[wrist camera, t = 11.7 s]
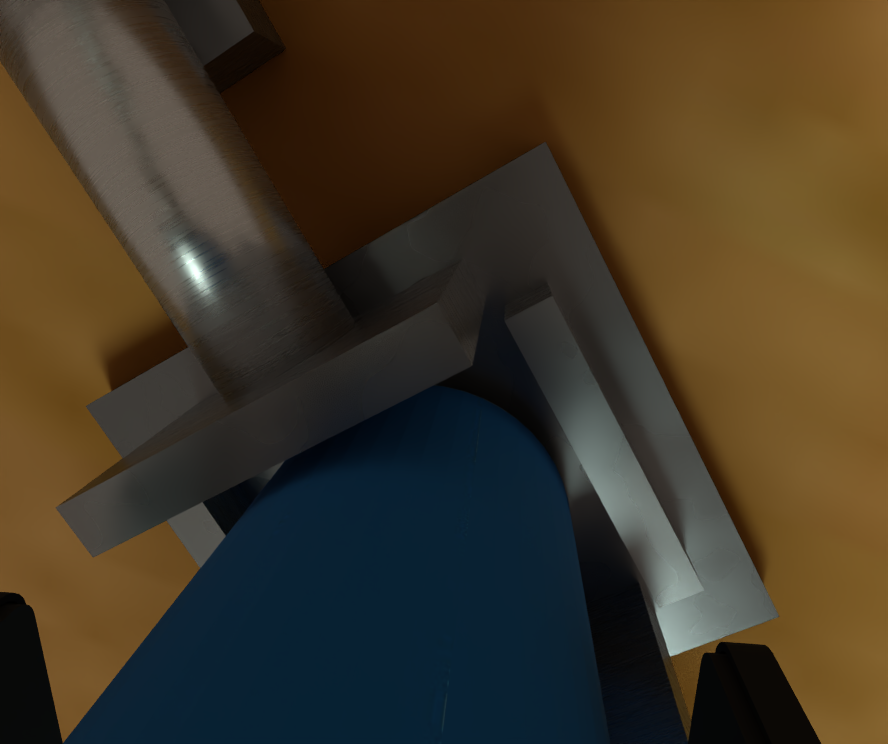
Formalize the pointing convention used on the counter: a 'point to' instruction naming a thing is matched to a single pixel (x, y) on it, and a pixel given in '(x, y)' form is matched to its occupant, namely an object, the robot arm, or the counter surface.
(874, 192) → the counter surface
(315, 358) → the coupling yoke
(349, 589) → the beverage can
